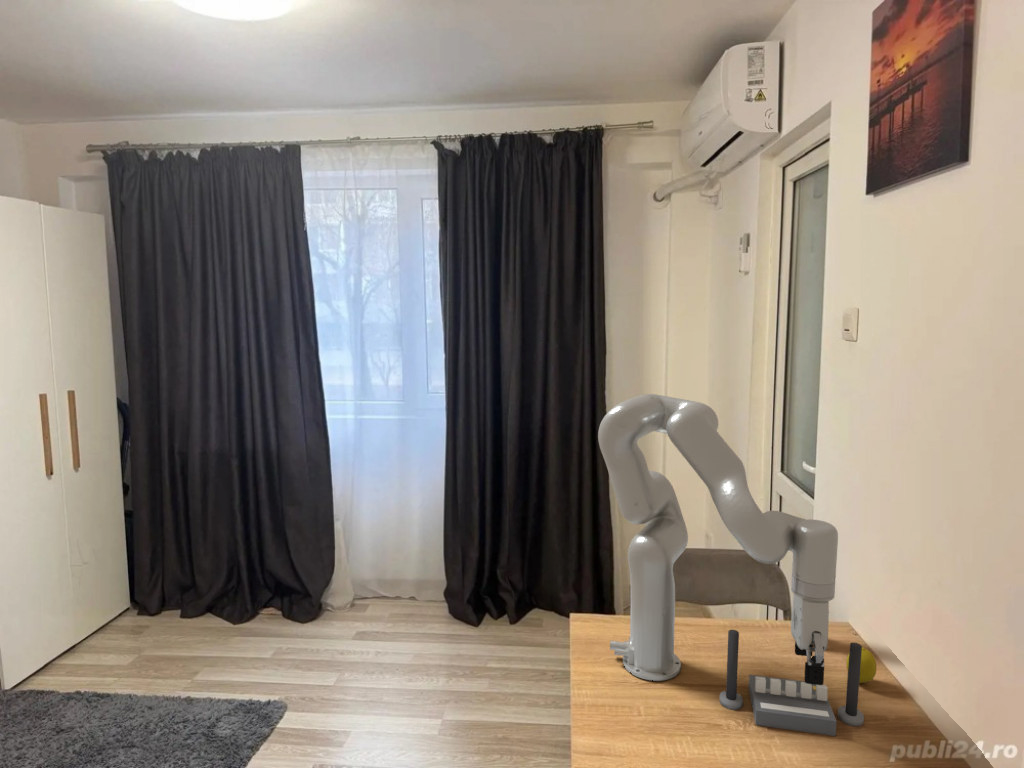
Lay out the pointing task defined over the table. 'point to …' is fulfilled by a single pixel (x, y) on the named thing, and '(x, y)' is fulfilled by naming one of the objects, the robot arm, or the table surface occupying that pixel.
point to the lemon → (866, 666)
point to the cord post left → (732, 675)
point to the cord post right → (852, 689)
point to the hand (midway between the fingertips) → (808, 668)
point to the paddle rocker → (791, 689)
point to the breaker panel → (791, 710)
